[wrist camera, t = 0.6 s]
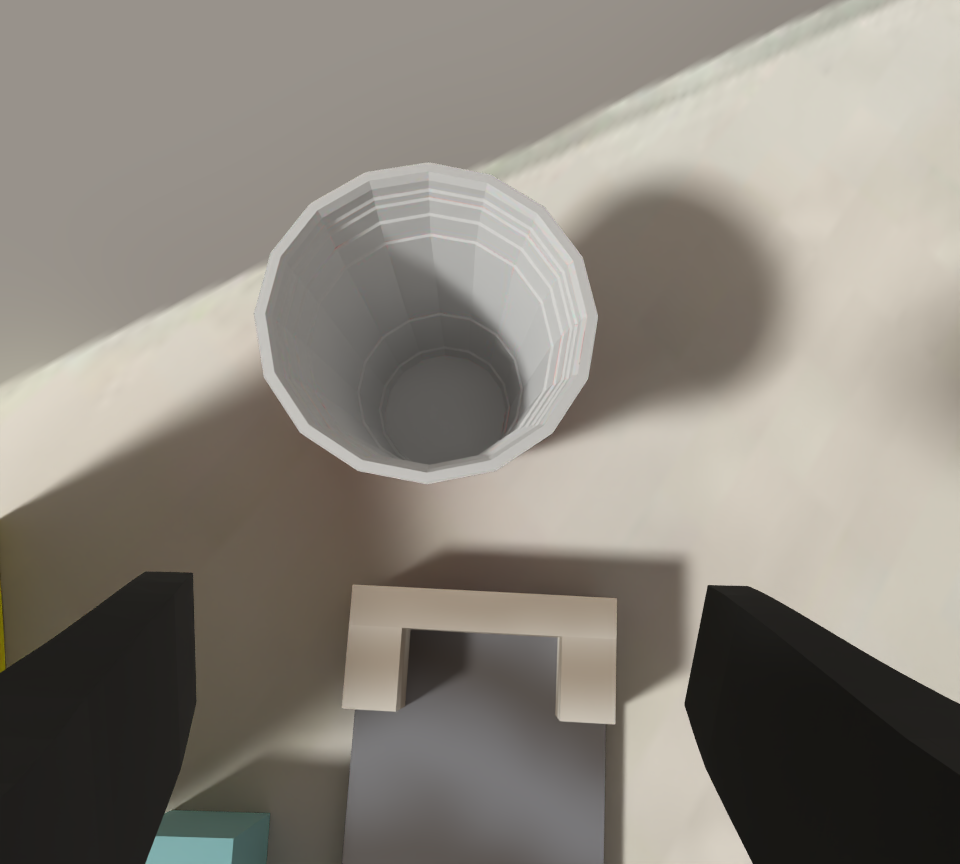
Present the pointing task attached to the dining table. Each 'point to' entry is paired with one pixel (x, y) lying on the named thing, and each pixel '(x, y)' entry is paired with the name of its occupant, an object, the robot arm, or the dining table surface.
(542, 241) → the plastic cup
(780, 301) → the dining table surface
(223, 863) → the slat
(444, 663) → the cradle
